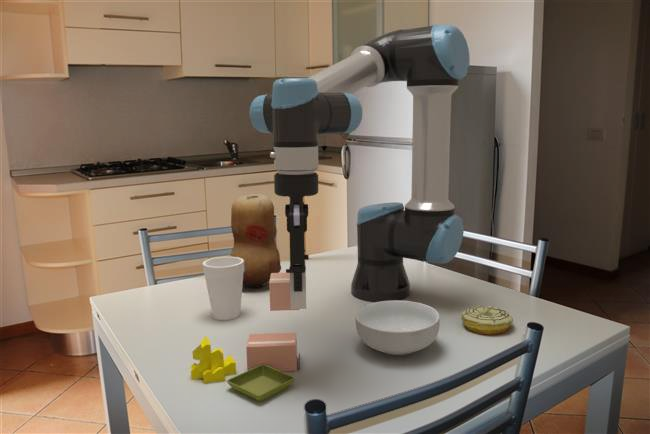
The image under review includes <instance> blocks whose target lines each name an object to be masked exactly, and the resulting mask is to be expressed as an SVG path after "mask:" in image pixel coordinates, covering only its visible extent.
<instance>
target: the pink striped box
mask: <svg viewBox="0 0 650 434" xmlns="http://www.w3.org/2000/svg"><path fill="white" fill-rule="evenodd" d="M247 339H248V340H247V342H246V348H245V349H246V365H247V370H246V371H248V370H250V369H253V368H255V367H257V366H259V365H262V364H265V365H267V366H270V367H272V368H274V369H277V370H279V371H281V372H297V368H298V370H300V369H301V353H300V352H299V353H298V348H297V347H298V346H297V344H298V342H297V332H279V333H278V332H275V333H273V332H272V333H249V335H248V338H247ZM297 364H298V366H297Z"/></svg>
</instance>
